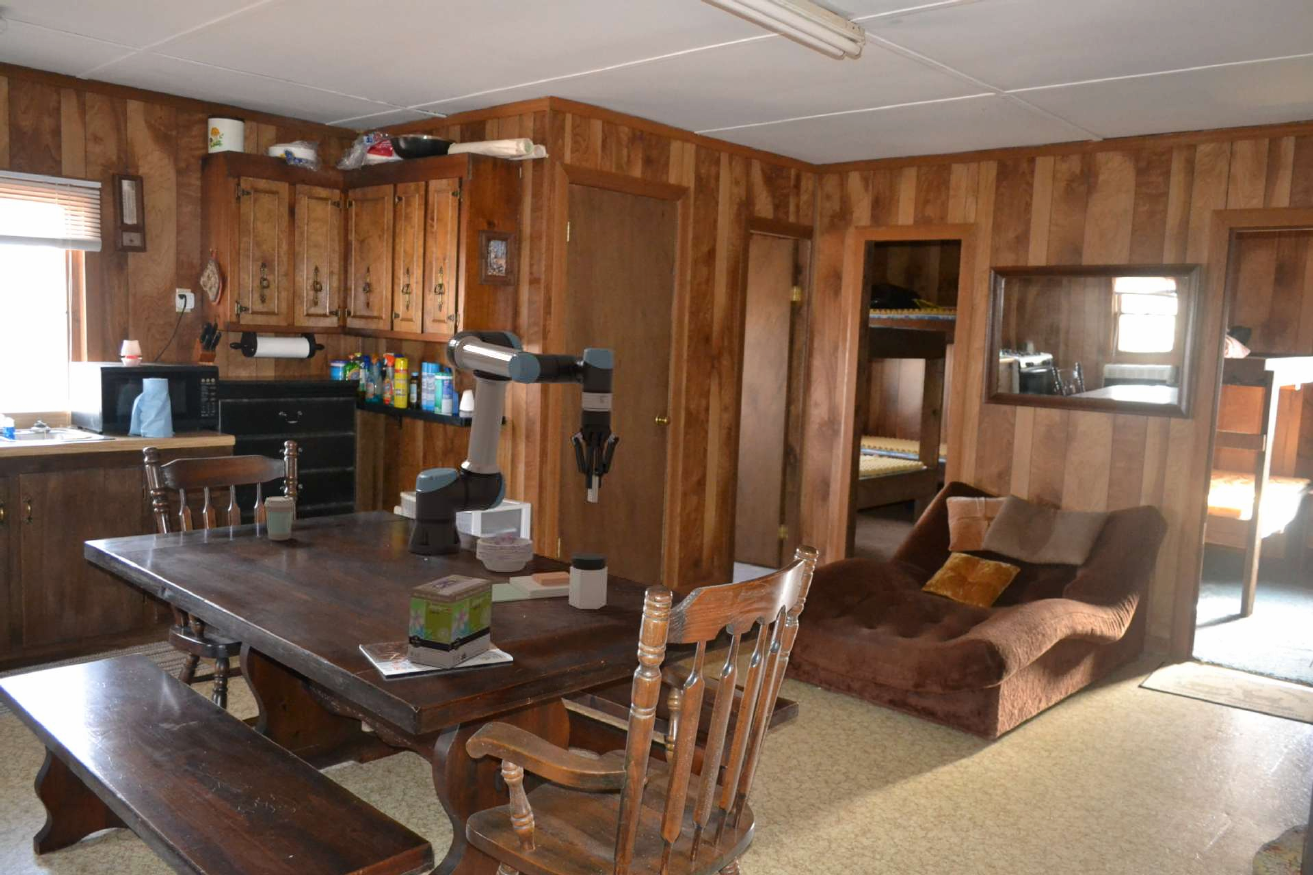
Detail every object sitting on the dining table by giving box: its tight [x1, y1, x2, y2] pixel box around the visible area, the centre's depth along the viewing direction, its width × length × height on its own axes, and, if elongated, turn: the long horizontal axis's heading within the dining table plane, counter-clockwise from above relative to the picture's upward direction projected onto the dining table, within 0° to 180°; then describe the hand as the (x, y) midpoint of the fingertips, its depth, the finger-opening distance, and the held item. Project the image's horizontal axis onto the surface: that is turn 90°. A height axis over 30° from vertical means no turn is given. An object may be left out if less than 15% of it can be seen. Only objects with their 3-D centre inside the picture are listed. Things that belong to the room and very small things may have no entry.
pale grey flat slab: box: [509, 575, 570, 600], centre depth 261 cm, size 14×16×2 cm
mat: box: [492, 582, 531, 604], centre depth 254 cm, size 15×15×1 cm
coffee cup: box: [263, 496, 296, 541], centre depth 304 cm, size 8×9×12 cm
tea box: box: [407, 574, 493, 670], centre depth 205 cm, size 15×10×15 cm, turn 158°
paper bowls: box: [476, 535, 534, 573], centre depth 281 cm, size 15×15×8 cm
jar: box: [568, 552, 608, 610], centre depth 248 cm, size 9×8×12 cm
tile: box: [531, 571, 570, 585], centre depth 261 cm, size 6×9×2 cm, turn 119°
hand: (592, 501), depth 264 cm, fingers closed
